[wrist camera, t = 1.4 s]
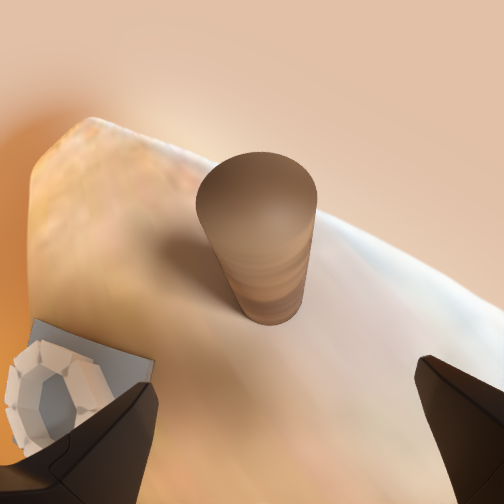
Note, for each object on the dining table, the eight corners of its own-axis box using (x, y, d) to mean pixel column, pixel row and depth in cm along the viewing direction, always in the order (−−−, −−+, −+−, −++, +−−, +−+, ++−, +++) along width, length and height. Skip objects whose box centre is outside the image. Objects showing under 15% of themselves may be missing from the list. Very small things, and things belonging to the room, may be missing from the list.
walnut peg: (298, 329, 22) (312, 256, 11) (232, 320, 23) (181, 241, 11) (305, 268, 24) (319, 156, 13) (245, 261, 25) (212, 149, 14)
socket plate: (128, 508, 16) (104, 521, 12) (19, 441, 18) (-8, 440, 14) (154, 361, 22) (131, 353, 18) (41, 321, 24) (15, 308, 20)
